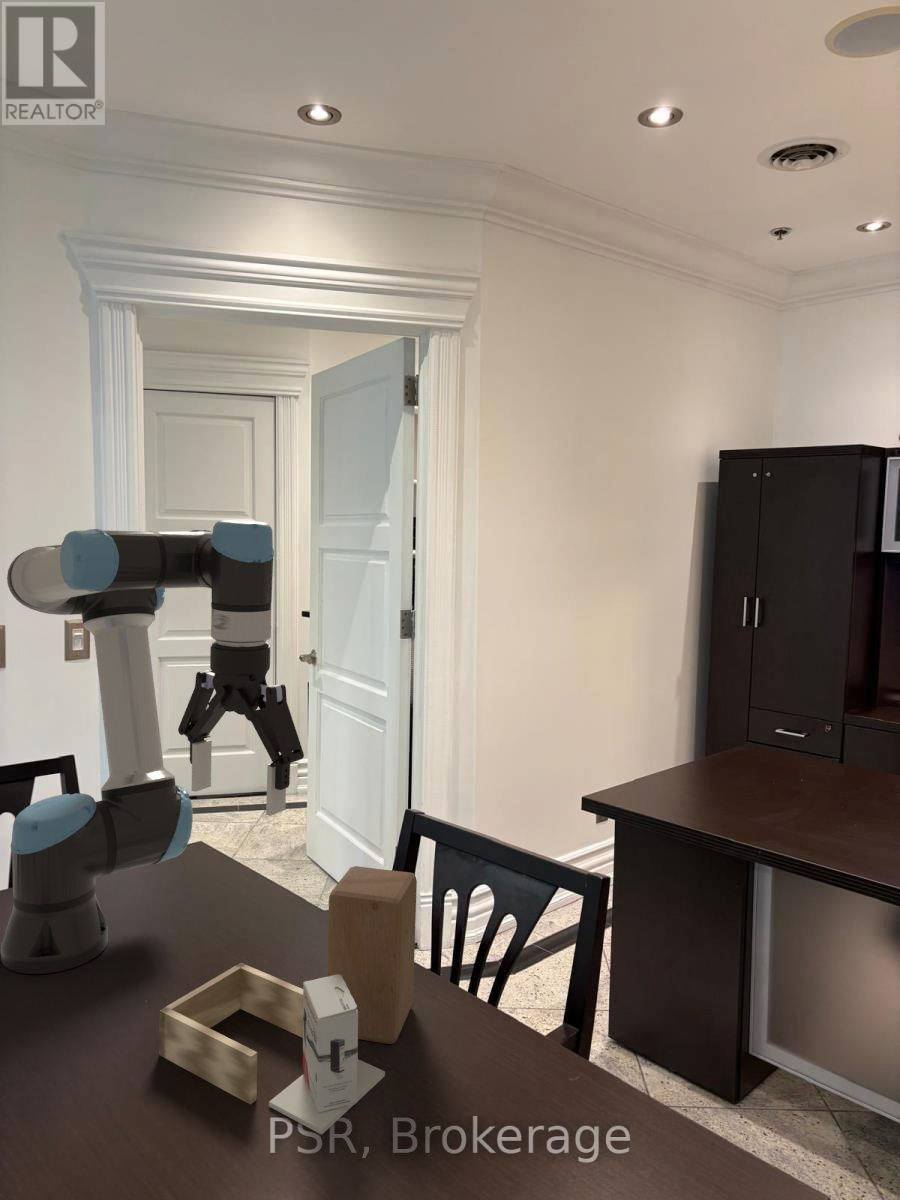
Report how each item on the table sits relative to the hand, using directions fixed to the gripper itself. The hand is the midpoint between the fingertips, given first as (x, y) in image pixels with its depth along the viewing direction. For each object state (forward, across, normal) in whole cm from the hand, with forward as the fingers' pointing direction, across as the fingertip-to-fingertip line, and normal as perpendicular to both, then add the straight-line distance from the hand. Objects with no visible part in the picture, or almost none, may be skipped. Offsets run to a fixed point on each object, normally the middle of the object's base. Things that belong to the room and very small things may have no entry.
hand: (237, 800), depth 110 cm
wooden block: (+31, +15, +11) cm, 36 cm away
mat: (+31, +20, -3) cm, 37 cm away
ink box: (+30, +20, -3) cm, 36 cm away
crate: (+31, +6, -3) cm, 32 cm away
